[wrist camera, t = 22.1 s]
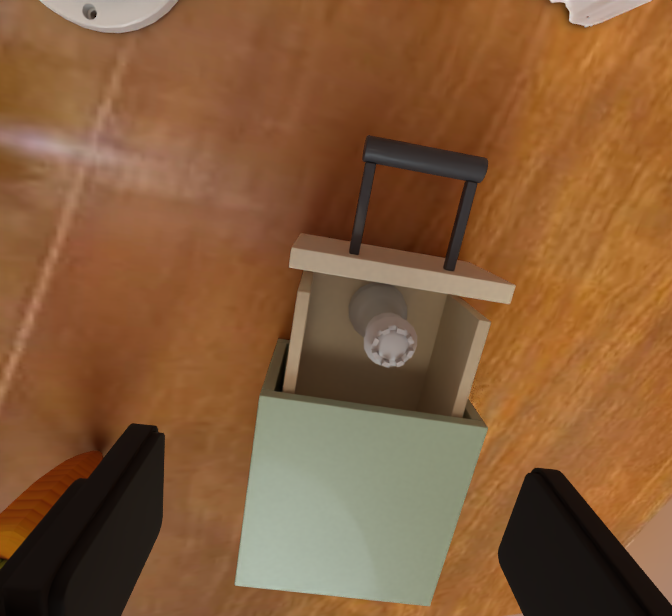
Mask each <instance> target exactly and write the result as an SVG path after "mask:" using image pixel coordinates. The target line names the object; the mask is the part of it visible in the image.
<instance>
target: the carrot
mask: <svg viewBox="0 0 672 616" xmlns="http://www.w3.org/2000/svg"><path fill="white" fill-rule="evenodd" d="M102 459H103V456H102V453H101V452H100V451H90V452H86V453H83V454H80V455H77V456H75V457H73V458H70V459H68V460H66V461H64V462H63V463H61V464H60V465H58V466H57V467H55V468H54V469H52V470H51V471H49V472H48V473H47V474H45V475H44V476H43V477H41V478H40V479H38V480H37V481H36V482H35V483H33V484H32V485H31V486H30V487H29V488H28V489H27V490H26V491H24V492H23V493H22V494H21V495H20V496H19V497H18V498H17V499H16V500H15V501H13V502H12V503H11V504H10V505H9V506H8V507H7V508H6V509H5V510H4V511H3V512H2V513H1V514H0V569H1V568H2V567H3V566H4V564H5V563H6V562H7V561H8V560H9V558H10V557H11V556H12V555H13V553H14V552H15V551H16V550H17V549H18V547H19V546H20V545H21V544H22V543H23V541H24V540H25V539H26V538H27V537H28V535H29V534H30V533H31V532H32V531H33V529H34V528H35V527H36V526H37V525H38V523H39V522H40V521H41V520H42V519H43V517H44V516H45V515H46V514H47V513H48V511H49V510H50V509H51V508H52V506H53V505H54V504H55V503H56V502H57V500H58V499H59V498H60V497H61V496H62V494H63V493H64V492H65V491H66V490H67V488H68V487H69V486H70V485H71V484H72V483H73V482H74V481H75V480H77V479H79V478H86V479H87V478H88V477H89V476H90V475H91V473H92V472H93V471H94V470H95V468H96V467H97V466H98V464H99V463H100V462H101V461H102Z"/></svg>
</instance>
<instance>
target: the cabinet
mask: <svg viewBox="0 0 672 616" xmlns="http://www.w3.org/2000/svg"><path fill="white" fill-rule="evenodd" d="M289 344H290V340H285V339H278V341H277V344H276V347H275V350H274V353H273V356H272V359H271V362H270V365H269V368H268V371H267V374H266V377H265V381H264V384H263V387H262V390H261V393H260V396H259V403H258V411H257V418H256V426H255V434H254V441H253V449H252V456H251V464H250V471H249V479H248V486H247V494H246V501H245V509H244V517H243V524H242V532H241V539H240V547H239V554H238V562H237V569H236V577H235V585H236V586H245V587H255V588H264V589H274V590H283V591H292V592H302V593H311V594H320V595H330V596H339V597H348V598H358V599H367V600H376V601H386V602H395V603H404V604H414V605H423V606H430V604H431V601H432V598H433V595H434V591H435V588H436V585H437V582H438V579H439V576H440V573H441V570H442V567H443V564H444V561H445V558H446V555H447V552H448V549H449V546H450V543H451V540H452V537H453V533H454V530H455V527H456V524H457V521H458V518H459V515H460V512H461V509H462V506H463V503H464V500H465V497H466V494H467V491H468V488H469V485H470V482H471V479H472V475H473V472H474V469H475V466H476V463H477V460H478V457H479V454H480V451H481V448H482V445H483V442H484V439H485V436H486V433H487V430H488V427H487V426H486V424H485V423H484V421H483V420H482V418H481V417H480V415H479V414H478V412H477V411H476V409H475V408H474V406H473V405H472V403H471V402H470V401H469V399H468V400H467V403H466V407H465V410H464V413H463V417H462V418H458V417H451V416H444V415H437V414H430V413H423V412H416V411H409V410H402V409H395V408H388V407H381V406H374V405H367V404H360V403H353V402H346V401H339V400H332V399H325V398H318V397H311V396H304V395H297V394H290V393H283V392H282V391H283V384H284V377H285V371H286V364H287V357H288V351H289Z"/></svg>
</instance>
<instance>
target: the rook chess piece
mask: <svg viewBox="0 0 672 616" xmlns="http://www.w3.org/2000/svg"><path fill="white" fill-rule="evenodd" d="M348 309H349V318H350V321H351V323H352V325H353V327H354V329H355V331H357V332H358V333H359V334H360V335H361V336H362V337H364V349H365V351H366V353H367V355H368V357H369V358H370V359H371V360H372V361H373V362H375V363H376V364H379V365H381V366H384V367H387V368H389V366H397V368H398V367H400V366H402V365H405V362H406V361H407V360H408V359H409V358H412V355H413V354H414V351H415V349H416V347H417V334H416V332H415V329H414V327H413V326H412V325H411V324H410V323H409V322H408V321H406V320H407V305H406V303H405V300H404V298H403V296H402V293H401V292H399V291H398V290H397V289H396V288H395V287H394V286H392V285H390V284H385V283H379V282H372V283H369V284H367V285H365V286H362V287H360V288H359V289H358V290H357V291H356V292H355V294H354V295H353V296H352V298H351V301H350V303H349V306H348Z"/></svg>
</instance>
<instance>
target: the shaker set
mask: <svg viewBox="0 0 672 616" xmlns="http://www.w3.org/2000/svg"><path fill="white" fill-rule="evenodd" d="M550 1H551V3H554V2H564V3H565V4H566V7H567V8H568V10H569V12H570V15H569V17H570V18H569V21H571V23H573V24H580V25H583V26H585V27H588V26H589V25H590V26H593V24H594V25H596V24H598V23H602V22H604V21H606V20H608V19H611V18H613V17H615V16H618V15H620V14H622V13H625V12H627V11H629V10H631V9H634V8H636V7H638V6H641V5H643V4H645V3H647V2H650V1H652V0H550ZM587 16H590V17H588V18H587Z"/></svg>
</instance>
